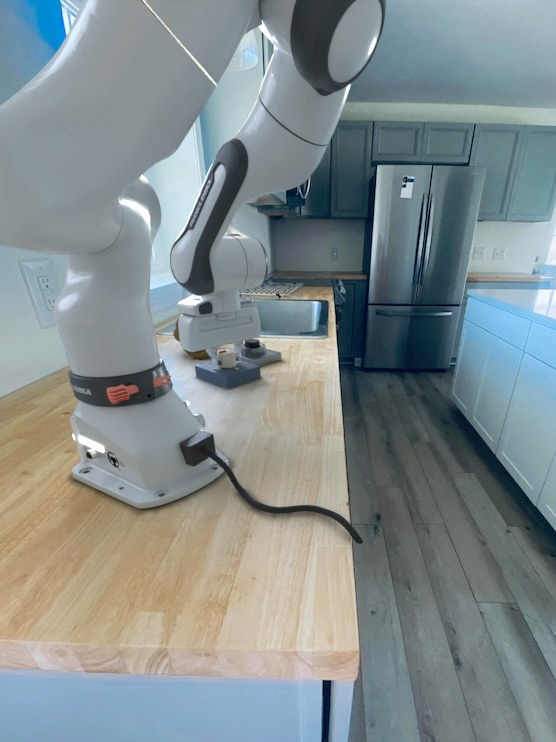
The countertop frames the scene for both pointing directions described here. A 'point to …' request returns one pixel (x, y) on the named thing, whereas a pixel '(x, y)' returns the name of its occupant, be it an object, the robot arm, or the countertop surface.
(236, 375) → the panel
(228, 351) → the knob
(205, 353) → the brown looped sculpture
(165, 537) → the countertop surface
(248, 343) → the button
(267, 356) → the housing
